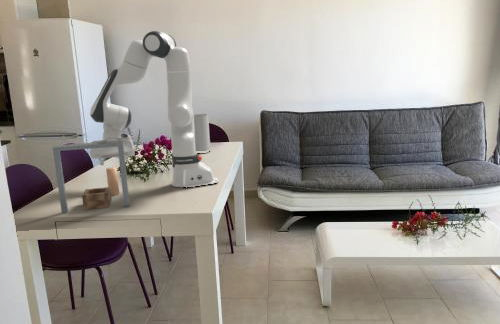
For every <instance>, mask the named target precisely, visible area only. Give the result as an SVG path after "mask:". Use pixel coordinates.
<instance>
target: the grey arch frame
mask: <svg viewBox="0 0 500 324" xmlns="http://www.w3.org/2000/svg"><path fill="white" fill-rule="evenodd" d="M123 145H124V140H122V141H108V142H95V143H91V142H85V143H83V142H82V143H81V142H80V143H72V144H71V143H70V144H56V145H54V146H53V147H52V152H53V153H52V154H53V160H54V168H55V175H56V180H57V181H56V182H57V188H58V196H59V197H58V198H59V202H60V203H59V204H60V210H61V214H68V213H69V208H68V200H67V194H66V186H65V185H66V184H65V177H64V173H63V172H64V171H63V164H62V157H61V151H77V150H90V149H92V148H105V147H118V153H119V157H118V159H119V170H120V180H121V187H122V197H123V207H124V208H128V207H129V208H130V206H131V203H130V195H129V194H130V193H129V187H128V185H129V184H128V175H127V168H126V166H127V165H126V160H125V155H124V146H123Z"/></svg>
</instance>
